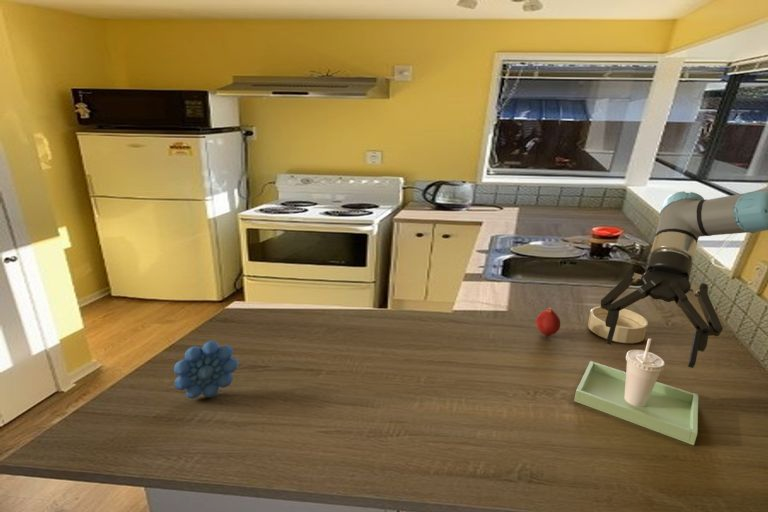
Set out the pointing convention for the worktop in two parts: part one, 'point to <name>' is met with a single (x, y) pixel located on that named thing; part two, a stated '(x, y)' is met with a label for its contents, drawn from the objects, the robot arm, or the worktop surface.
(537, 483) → the worktop surface
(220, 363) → the blue flower
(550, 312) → the onion
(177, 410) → the worktop surface
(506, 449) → the worktop surface
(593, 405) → the tray
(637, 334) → the bowl
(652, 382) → the smoothie
